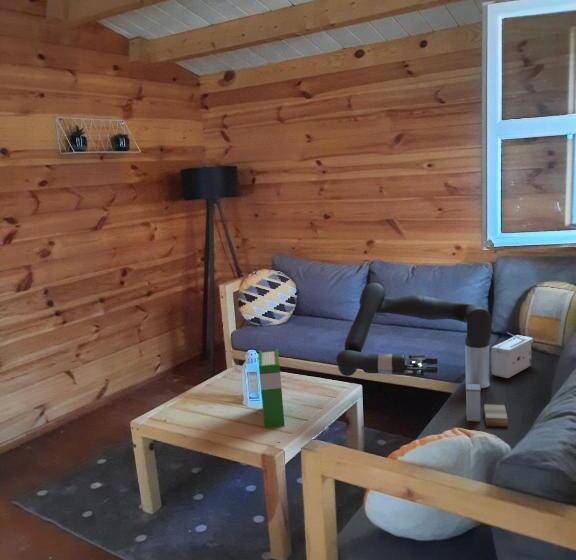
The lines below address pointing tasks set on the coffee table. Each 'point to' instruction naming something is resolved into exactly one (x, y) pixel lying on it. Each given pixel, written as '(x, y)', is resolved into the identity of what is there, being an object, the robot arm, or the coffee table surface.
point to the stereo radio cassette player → (511, 356)
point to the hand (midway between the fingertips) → (437, 365)
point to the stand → (495, 415)
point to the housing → (473, 402)
